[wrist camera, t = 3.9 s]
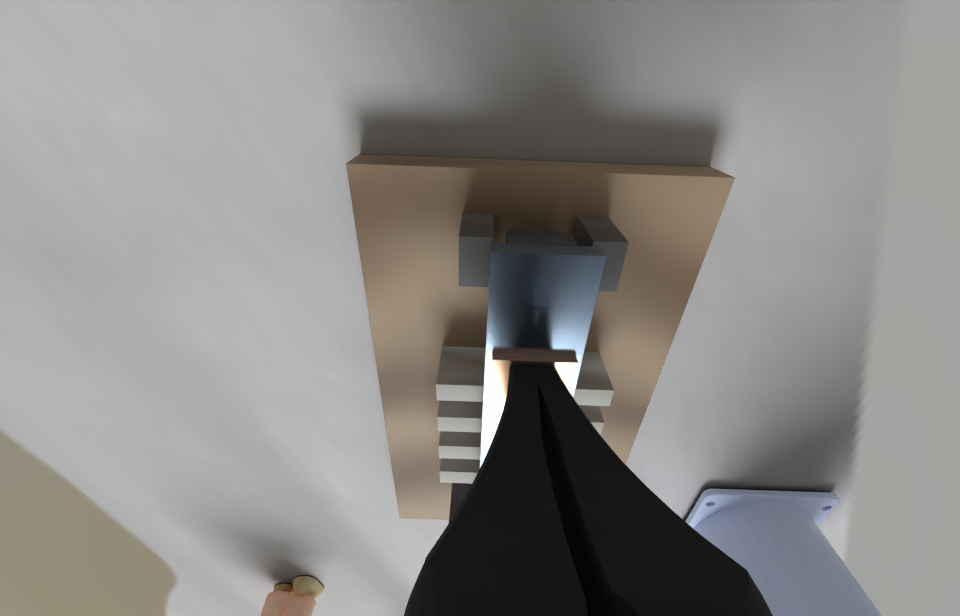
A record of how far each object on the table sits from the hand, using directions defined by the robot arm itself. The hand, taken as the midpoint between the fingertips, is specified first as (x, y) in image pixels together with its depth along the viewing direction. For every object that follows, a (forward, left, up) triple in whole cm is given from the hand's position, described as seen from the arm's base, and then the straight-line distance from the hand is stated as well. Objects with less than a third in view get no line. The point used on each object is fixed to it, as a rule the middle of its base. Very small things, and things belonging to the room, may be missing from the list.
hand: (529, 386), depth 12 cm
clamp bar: (-3, 0, -2) cm, 4 cm away
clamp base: (-4, 0, -5) cm, 6 cm away
